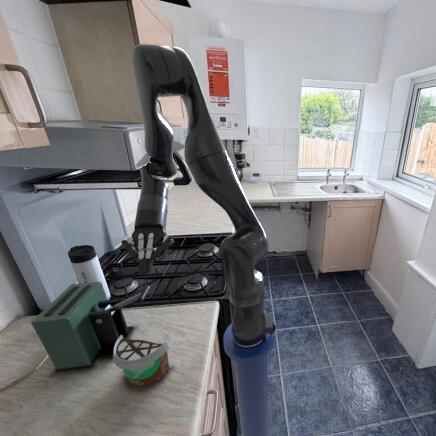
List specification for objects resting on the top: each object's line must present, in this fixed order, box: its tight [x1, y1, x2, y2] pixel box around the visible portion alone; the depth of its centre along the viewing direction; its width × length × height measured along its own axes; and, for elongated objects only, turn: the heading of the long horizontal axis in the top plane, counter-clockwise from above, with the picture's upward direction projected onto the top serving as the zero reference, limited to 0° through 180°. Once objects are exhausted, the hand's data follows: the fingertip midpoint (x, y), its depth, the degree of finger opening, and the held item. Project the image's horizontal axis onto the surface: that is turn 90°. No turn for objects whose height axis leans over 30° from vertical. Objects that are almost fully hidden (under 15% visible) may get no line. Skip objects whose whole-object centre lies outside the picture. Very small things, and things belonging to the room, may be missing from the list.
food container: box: [112, 335, 170, 389], centre depth 53 cm, size 12×6×10 cm, turn 82°
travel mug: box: [67, 244, 112, 300], centre depth 75 cm, size 6×7×20 cm
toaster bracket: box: [88, 298, 135, 360], centre depth 61 cm, size 5×9×13 cm, turn 10°
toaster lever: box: [97, 285, 151, 315], centre depth 60 cm, size 13×5×2 cm, turn 99°
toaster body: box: [30, 282, 107, 373], centre depth 60 cm, size 7×13×16 cm, turn 10°
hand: (144, 274), depth 60 cm, fingers closed
